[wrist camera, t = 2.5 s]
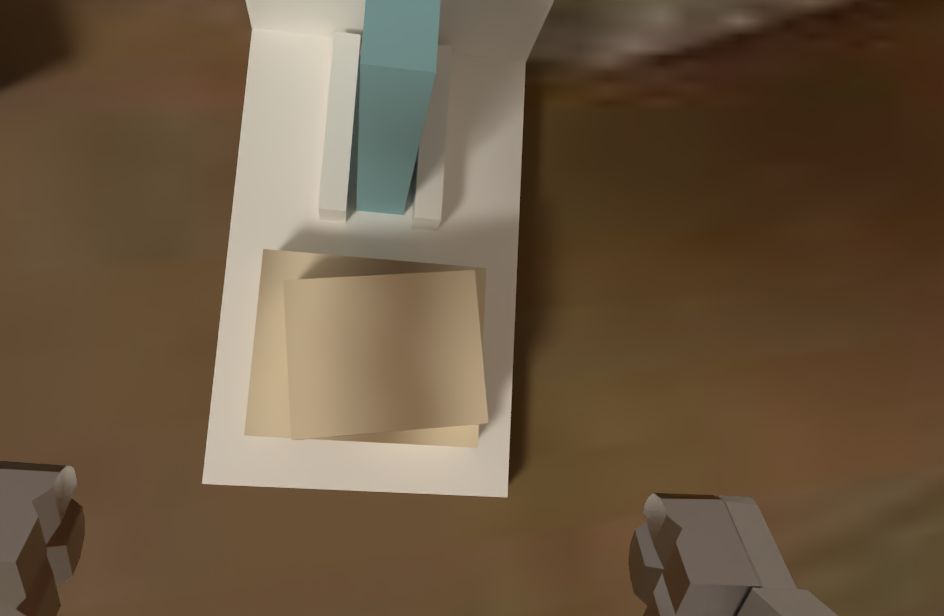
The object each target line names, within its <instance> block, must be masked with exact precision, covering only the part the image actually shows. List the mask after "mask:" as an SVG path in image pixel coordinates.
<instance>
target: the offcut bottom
mask: <svg viewBox="0 0 944 616" xmlns="http://www.w3.org/2000/svg"><path fill="white" fill-rule="evenodd" d="M463 270H475V277H476V288H477V300H478V311H479V322H480V333H481V344H482V352H483V331H484V311H485V290H486V270H487V268H481V267H469V266H457V265H445V264H434V263H422V262H410V261H398V260H387V259H375V258H363V257H352V256H340V255H328V254H316V253H305V252H293V251H281V250H270V249H263V256H262V265H261V275H260V285H259V295H258V305H257V315H256V324H255V334H254V344H253V354H252V364H251V373H250V383H249V393H248V403H247V413H246V423H245V432H244V436H259V437H278V438H291V426H290V406H289V386H288V366H287V346H286V326H285V306H284V286H283V280H295V279H314V278H332V277H351V276H370V275H388V274H407V273H426V272H444V271H463ZM478 433H479V424H477V425H466V426H454V427H443V428H431V429H420V430H408V431H396V432H385V433H373V434H362V435H350V436H338V437H327V438H315V439H316V440H335V441H354V442H374V443H393V444H412V445H431V446H450V447H469V448H478Z"/></svg>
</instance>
